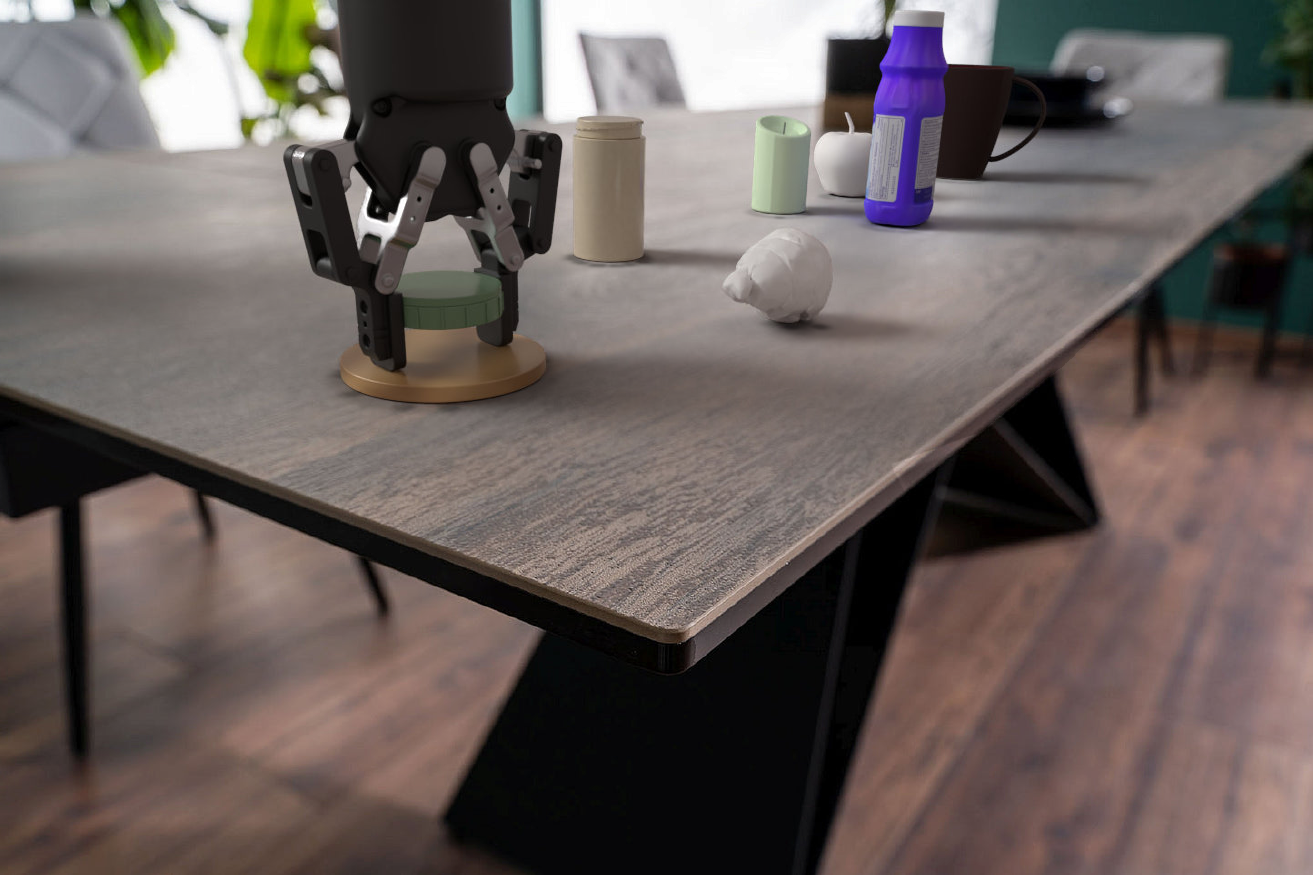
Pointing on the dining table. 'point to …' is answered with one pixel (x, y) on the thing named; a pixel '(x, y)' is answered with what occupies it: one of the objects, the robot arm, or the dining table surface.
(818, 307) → the garlic bulb
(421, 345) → the coaster
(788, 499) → the dining table surface
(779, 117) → the candle
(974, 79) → the cup
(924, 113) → the bottle
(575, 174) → the jar
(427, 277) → the lid
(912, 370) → the dining table surface
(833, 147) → the plain white apple
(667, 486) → the dining table surface
